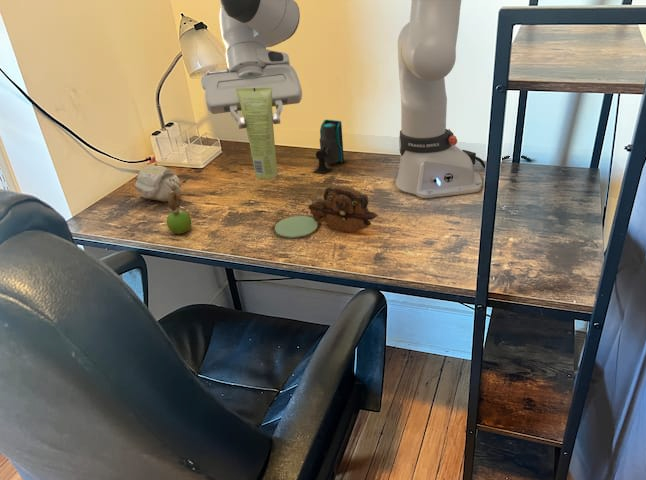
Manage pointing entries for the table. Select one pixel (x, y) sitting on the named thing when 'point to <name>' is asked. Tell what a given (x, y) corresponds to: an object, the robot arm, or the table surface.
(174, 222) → the green bulbous piece
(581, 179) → the table surface
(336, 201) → the wooden carving
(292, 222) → the coaster
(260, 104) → the tube
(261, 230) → the table surface
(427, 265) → the table surface
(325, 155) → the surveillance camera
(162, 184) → the fossil replica
